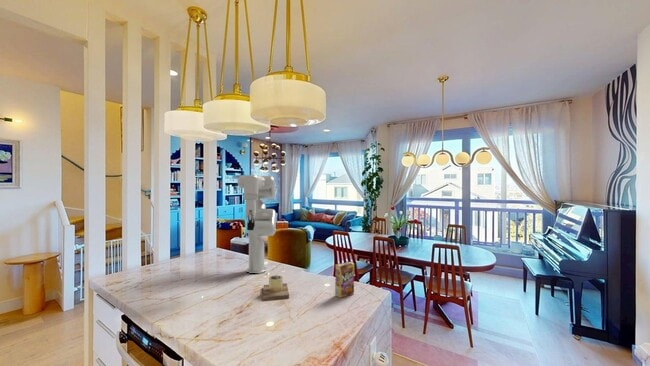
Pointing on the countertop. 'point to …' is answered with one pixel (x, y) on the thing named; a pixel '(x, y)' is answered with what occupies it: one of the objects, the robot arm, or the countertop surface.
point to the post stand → (275, 295)
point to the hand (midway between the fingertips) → (251, 228)
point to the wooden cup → (275, 284)
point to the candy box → (344, 279)
